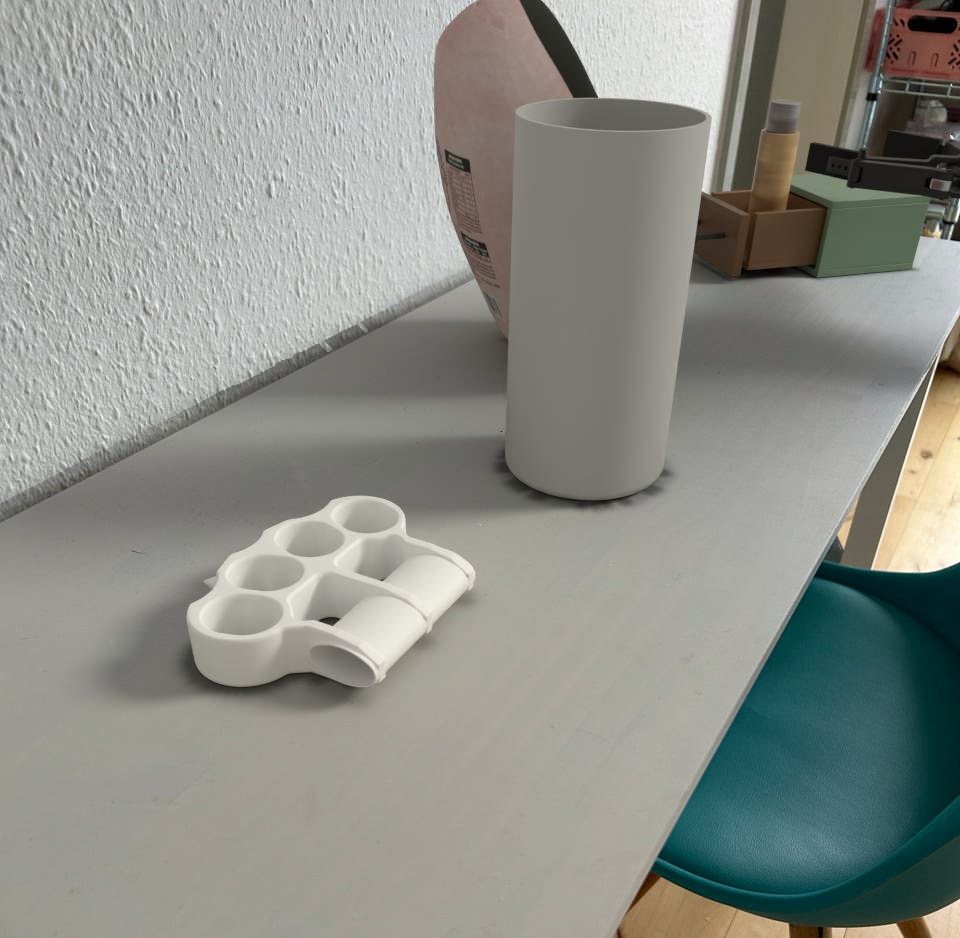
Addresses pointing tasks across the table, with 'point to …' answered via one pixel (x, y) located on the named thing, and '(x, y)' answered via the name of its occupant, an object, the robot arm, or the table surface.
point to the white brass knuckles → (324, 598)
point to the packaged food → (494, 122)
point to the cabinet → (862, 227)
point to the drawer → (757, 232)
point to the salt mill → (775, 160)
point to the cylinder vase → (599, 289)
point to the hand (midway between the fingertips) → (849, 149)
